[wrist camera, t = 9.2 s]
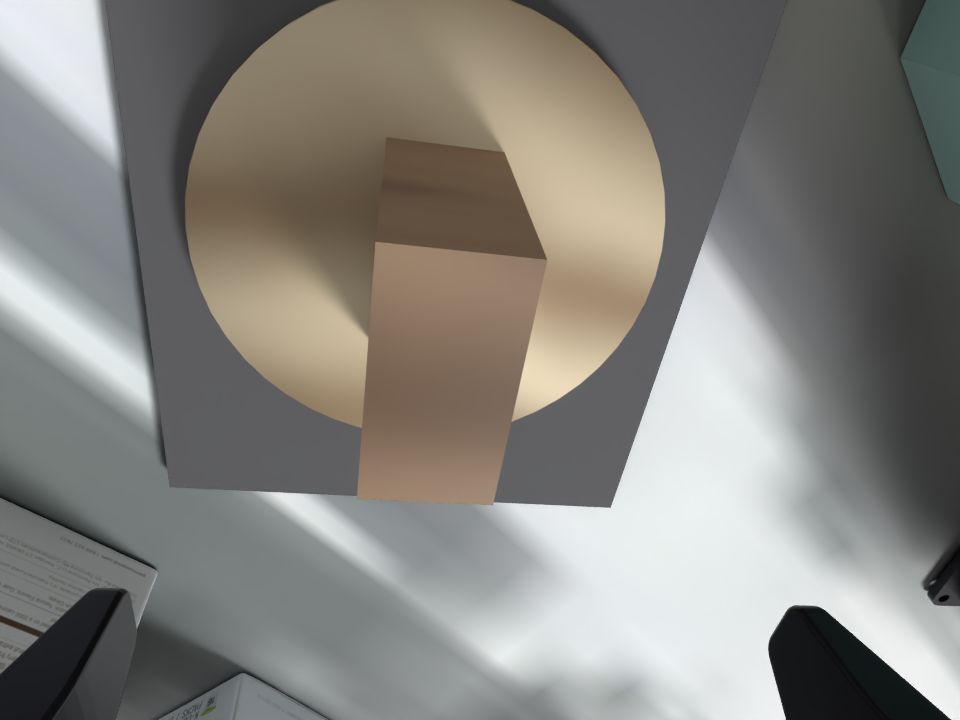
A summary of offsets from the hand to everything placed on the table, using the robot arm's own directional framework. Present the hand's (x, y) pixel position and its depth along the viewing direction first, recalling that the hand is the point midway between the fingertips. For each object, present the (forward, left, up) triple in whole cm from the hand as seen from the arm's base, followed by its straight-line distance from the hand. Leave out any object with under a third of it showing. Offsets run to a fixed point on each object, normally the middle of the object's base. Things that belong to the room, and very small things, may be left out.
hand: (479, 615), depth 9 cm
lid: (0, 0, -12) cm, 12 cm away
